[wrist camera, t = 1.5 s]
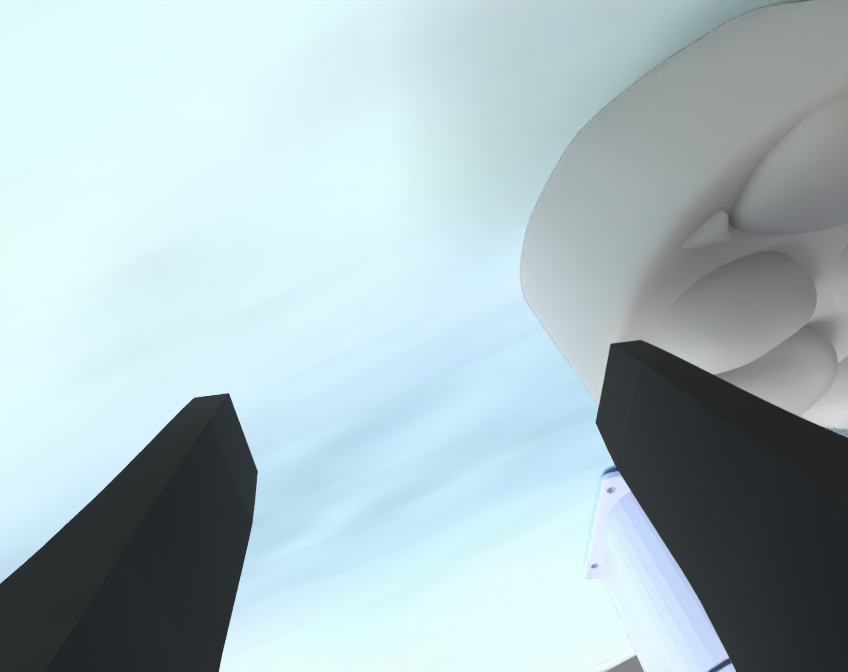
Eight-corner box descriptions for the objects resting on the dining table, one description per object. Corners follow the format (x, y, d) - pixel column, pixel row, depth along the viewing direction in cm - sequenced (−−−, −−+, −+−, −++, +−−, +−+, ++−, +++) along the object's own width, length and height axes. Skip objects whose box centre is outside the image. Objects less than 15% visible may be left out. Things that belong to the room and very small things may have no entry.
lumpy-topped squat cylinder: (858, 216, 19) (1171, 317, 12) (581, 382, 22) (694, 548, 15) (814, -51, 14) (1310, -166, 7) (462, 209, 17) (543, 328, 10)
